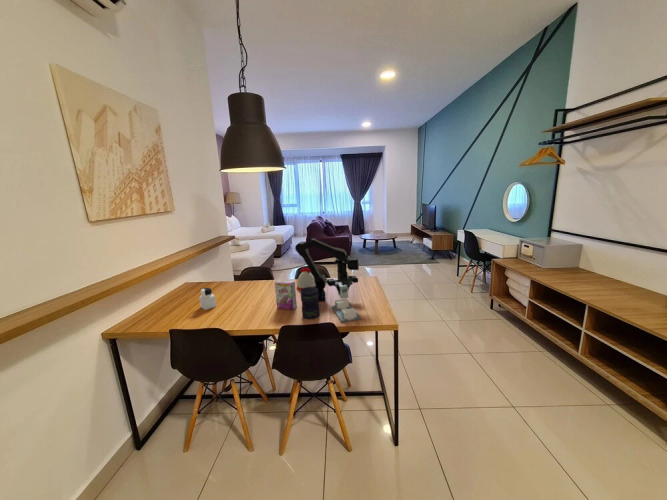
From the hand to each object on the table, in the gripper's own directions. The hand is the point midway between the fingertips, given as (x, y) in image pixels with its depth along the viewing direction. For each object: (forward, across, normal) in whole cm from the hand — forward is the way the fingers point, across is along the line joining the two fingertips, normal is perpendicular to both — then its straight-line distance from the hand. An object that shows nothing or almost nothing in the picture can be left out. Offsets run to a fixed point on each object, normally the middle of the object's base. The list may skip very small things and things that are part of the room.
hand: (343, 293), depth 168 cm
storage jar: (+4, -23, -14) cm, 27 cm away
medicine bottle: (+4, -82, +20) cm, 85 cm away
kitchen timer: (+4, -18, +32) cm, 37 cm away
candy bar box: (+4, -35, +1) cm, 35 cm away
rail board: (+4, -4, -18) cm, 19 cm away
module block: (+2, 0, 0) cm, 2 cm away
